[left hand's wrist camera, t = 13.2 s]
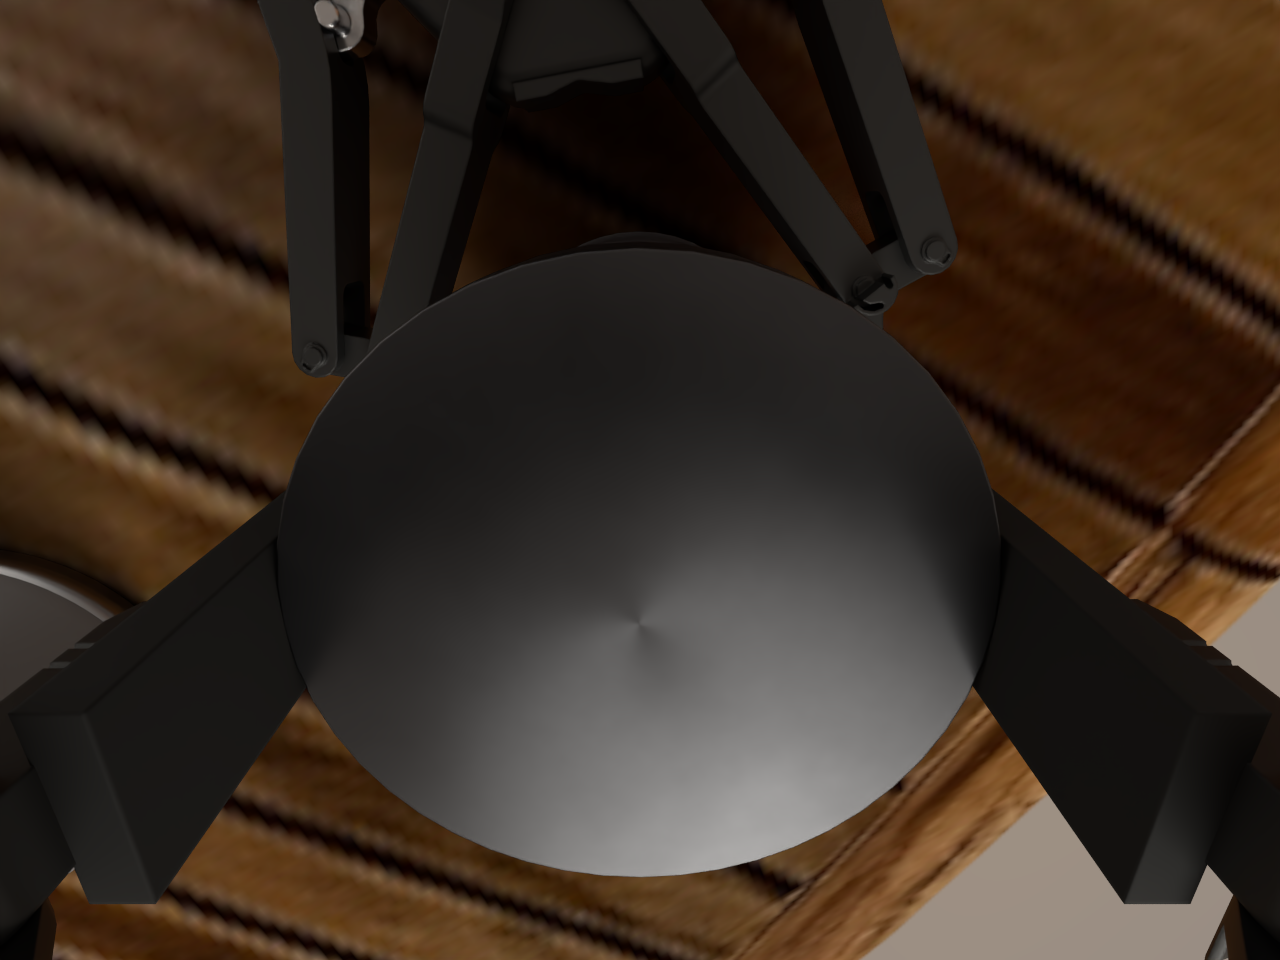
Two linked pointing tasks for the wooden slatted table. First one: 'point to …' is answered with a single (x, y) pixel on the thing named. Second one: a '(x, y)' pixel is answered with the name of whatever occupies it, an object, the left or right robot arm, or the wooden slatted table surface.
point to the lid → (639, 561)
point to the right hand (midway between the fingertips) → (660, 546)
